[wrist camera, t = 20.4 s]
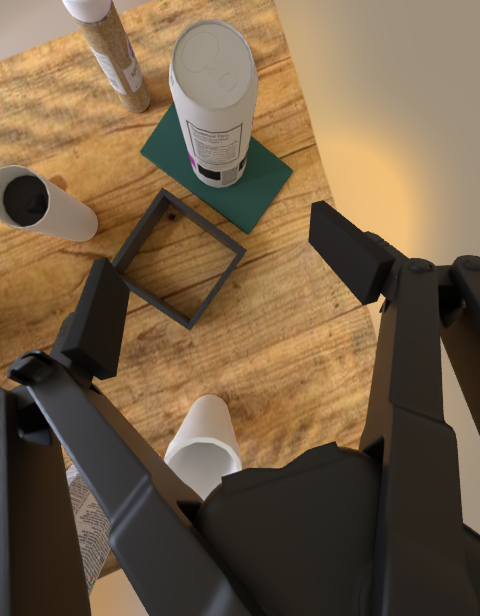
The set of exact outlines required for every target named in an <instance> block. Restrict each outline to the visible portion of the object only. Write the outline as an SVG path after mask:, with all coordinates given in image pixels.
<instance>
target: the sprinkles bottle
mask: <svg viewBox="0 0 480 616" xmlns="http://www.w3.org/2000/svg"><path fill="white" fill-rule="evenodd" d="M62 1H63V3H64V5H65V6H66V8H67V10H68V11H69V12H70V13H71V14H72V16H73V17H74V19H75V20H76V22H77V24H78V25H79V27H80V29H81V31H82V33H83V34H84V36H85V38H86V40H87V42H88V44H89V46H90V48H91V50H92V51H93V53H94V55H95V57H96V58H97V60H98V62H99V64H100V65H101V67H102V69H103V71H104V72H105V74H106V76H107V78H108V79H109V81H110V83H111V85H112V86H113V88H114V89H115V90H116V92H117V94H118V96H119V98H120V101H121V103H122V104H123V106H124V107H125V108H126V109H127V110H129V111H131V112H134V113H141V112H143V111H145V110H146V108H148V106H149V104H150V99H151V94H150V91H149V88H148V86H147V85H146V83H145V81H144V78H143V76H142V72H141V69H140V67H139V64H138V62H137V59H136V57H135V54H134V52H133V49H132V47H131V44H130V42H129V40H128V37H127V35H126V32H125V31H124V28H123V26H122V23H121V21H120V18H119V16H118V13H117V11H116V9H115V6H114V3H113V2H112V0H62Z"/></svg>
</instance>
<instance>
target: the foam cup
mask: <svg viewBox="0 0 480 616" xmlns="http://www.w3.org/2000/svg"><path fill="white" fill-rule="evenodd" d="M164 462H165V463H166V464H167V465H168V466H169V467H170V468H171V469H172V470H173V472H174V473H175V474H176V475H177V476H178V477H179V478H180V479H181V480H182V481H183V482H184V483H185V484H186V485H188V486H189V487H191V488H192V489H193V490H194V491H195V492H196V493H197V494H198V495H199V496H200V497H201V498H202V499H203V500H205V499H206V497H207V496H208V495H209V494H210V493H211V491H212V490H213V489H214V488H216V487H217V486H218V485H219V484H220V483H222V480H221V477H222V476H225V475H228V474H232V473H235V472H238V471H241V470H242V462H241V455H240V448H239V445H238V443H237V442H236V438H235V434H234V430H233V426H232V423H231V419H230V415H229V411H228V407H227V404H226V403H225V402H224V400H223V399H222V398H220V397H218V396H216V395H209V394H206V395H204V396H201V397H199V398H198V399H197V400H196V401H195V402H194V403H193V405H192V407H191V408H190V410H189V412H188V414H187V416H186V418H185V419H184V421H183V423H182V425H181V427H180V428H179V430H178V432H177V434H176V436H175V438H174V439H173V440H172V441H171V442H170V444H169V446H168V449H167V452H166V455H165V458H164Z"/></svg>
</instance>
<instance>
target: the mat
mask: <svg viewBox="0 0 480 616" xmlns="http://www.w3.org/2000/svg"><path fill="white" fill-rule="evenodd" d="M140 152H141V154H142V155H143V156H145V157H146V158H147V159H149V160H150V161H151V162H153V163H154V164H155V165H157V166H158V167H159V168H161V169H162V170H163V171H165V172H166V173H167V174H168V175H170V176H171V177H172V178H174V179H175V180H176V181H178V182H179V183H180V184H182V185H183V186H184V187H186V188H187V189H188V190H190V191H191V192H192V193H194V194H195V195H196V196H198V197H199V198H200V199H202V200H203V201H204V202H205V203H207V204H208V205H209V206H211V207H212V208H213V209H215V210H216V211H217V212H219V213H220V214H221V215H223V216H224V217H225V218H227V219H228V220H229V221H231V222H232V223H233V224H235V225H236V226H237V227H239V228H240V229H241V230H242V231H244V232H245V233H246V234H249V233H250V232H251V230H252V229H253V227H254V226H255V225H256V223H257V222H258V220H259V219H260V217H261V216H262V215H263V213H264V212H265V210H266V209H267V207H268V206H269V205H270V203H271V202H272V200H273V199H274V198H275V196H276V195H277V193H278V192H279V190H280V189H281V188H282V186H283V185H284V183H285V182H286V181H287V179H288V178H289V176H290V175H291V173H292V172H293V170H292V169H291V168H290V167H288V166H287V165H286V164H285V163H283V162H282V161H281V160H280V159H279V158H277V157H276V156H275V155H274V154H272V153H271V152H270V151H269V150H268V149H266V148H265V147H264V146H263V145H261V144H260V143H259V142H258V141H257V140H255V139H254V138H253V137H252V136H250V142H249V148H248V154H247V160H246V166H245V169H244V171H243V174H242V176H241V177H240V178H239V179H238V180H237V181H236V182H235V183H234V184H232V185H230V186H228V187H222V188H216V187H212V186H209V185H207V184H205V183H204V182H202V181H201V180H200V179H199V178H198V176H197V175H196V174H195V172H194V170H193V167H192V164H191V160H190V157H189V153H188V149H187V146H186V142H185V139H184V135H183V132H182V128H181V125H180V121H179V118H178V114H177V110H176V107H175V103H174V102H173V103H172V105H171V106H170V108H169V109H168V111H167V112H166V114H165V115H164V117H163V118H162V120H161V121H160V123H159V124H158V126H157V127H156V129H155V130H154V132H153V133H152V135H151V136H150V138H149V139H148V141H147V142H146V144H145V145H144V147H143V148H142V150H141V151H140Z"/></svg>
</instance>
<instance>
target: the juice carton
mask: <svg viewBox="0 0 480 616" xmlns="http://www.w3.org/2000/svg"><path fill="white" fill-rule="evenodd" d="M66 475H67V480H68V486H69V491H70V496H71V502H72V507H73V512H74V518H75V523H76V528H77V534H78V539H79V544H80V550H81V555H82V560H83V566H84V571H85V576H86V582H87V587H88V593H89V596H90V594H91V592H92V590H93V587H94V585H95V583H96V580H97V578H98V576H99V574H100V571H101V569H102V567H103V564H104V562H105V560H106V558H107V555H108V553H109V551H110V548H111V547H110V545H109V542H108V534H109V531H110V529H111V527H110V523H109V521H108V519H107V518H106V516H105V514H104V513H103V511H102V509H101V508H100V506H99V504H98V503H97V501H96V500H95V498H94V496H93V495H92V493H91V491H90V490H89V488H88V486H87V485H86V483H85V482H84V480H83V478H82V477H81V475H80V473H79V472H78V470H77V469H76V467H75V465H74V464H73V465H72V466H71V467H70V468H69V469H68V470H67V471H66Z"/></svg>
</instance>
